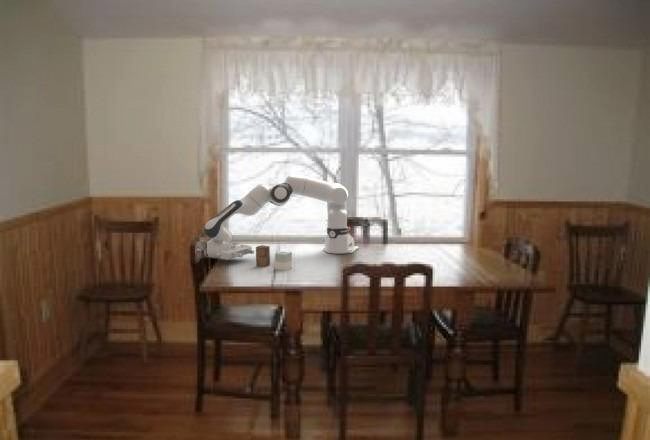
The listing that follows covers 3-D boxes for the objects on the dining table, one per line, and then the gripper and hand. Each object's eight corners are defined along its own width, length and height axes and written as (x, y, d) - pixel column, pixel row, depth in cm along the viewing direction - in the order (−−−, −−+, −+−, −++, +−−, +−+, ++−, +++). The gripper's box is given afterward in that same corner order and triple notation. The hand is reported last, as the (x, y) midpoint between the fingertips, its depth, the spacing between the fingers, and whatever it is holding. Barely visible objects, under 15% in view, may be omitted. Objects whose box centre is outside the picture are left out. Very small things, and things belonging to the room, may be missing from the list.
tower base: (282, 266, 280) (282, 259, 279) (292, 268, 277) (291, 260, 276) (275, 269, 275) (275, 261, 274) (285, 270, 272) (285, 262, 271)
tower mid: (282, 259, 279) (281, 251, 279) (291, 260, 276) (291, 252, 276) (275, 261, 274) (275, 253, 274) (285, 262, 271) (285, 254, 271)
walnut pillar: (262, 264, 286) (261, 245, 284) (269, 265, 283) (269, 246, 282) (256, 265, 282) (255, 246, 280) (264, 267, 279) (263, 247, 278)
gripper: (213, 249, 285) (234, 251, 278) (239, 242, 302) (259, 244, 295) (214, 261, 285) (235, 263, 278) (239, 253, 303) (259, 256, 296)
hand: (247, 253), depth 287 cm, fingers open, 8 cm apart
